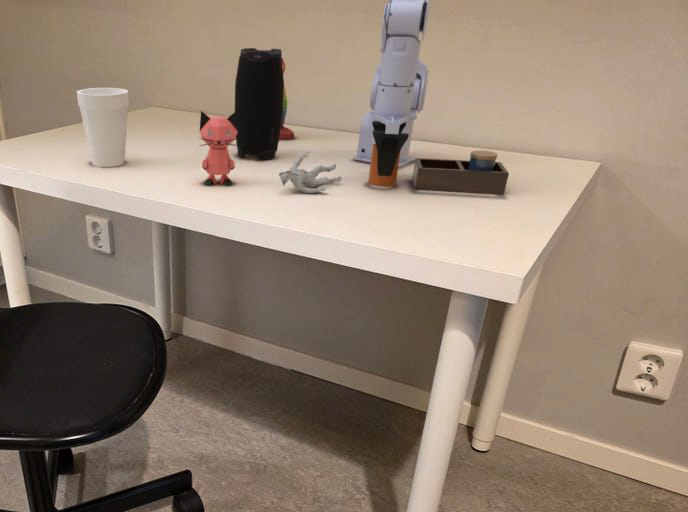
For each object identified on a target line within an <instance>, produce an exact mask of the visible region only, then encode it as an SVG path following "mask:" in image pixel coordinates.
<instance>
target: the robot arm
mask: <svg viewBox="0 0 688 512" xmlns="http://www.w3.org/2000/svg"><path fill="white" fill-rule="evenodd" d="M429 11H430V0H389V2H386V3H385V5H384V9H383V14H382V22H381V43H380V45H381V46H380V53H381V57H380V62H379V64H378V65H377V66H376V67H375V69H374V74H373V75H374V76H373V79H372V84H371V88H370V89H371V90H370V97H369V108H370V110H371V111H368V112H366V114H365V115H364V116H363V118H362V120H361V123H360V127H359V136H358V142H357V143H358V144H357V151H356V156H355V157H354V160H355V161H359V162H364V163H370V164H371V157H372V150H373V145H374V144H376V148H377V170H378V176H391V174H392V172H393V170H394V167H395V164H396V161H397V158H398V155H399V153H400V150H401V153H400V159H399V166H401V165H404V164H407V163H409V162H411V161H415V158H416V157H414V156H413V157H412V156H409V155H410V148H411V142H412V136H413V130H414V123H415V120H417V119H418V114H421V112H423V110H424V104H425V99H426V93H427V89H428V87H427V86H428V80H429V79H428V78H429V77H428V76H429V70H428V67H427V65H426V63H424V62H423V61H422V60H421V59H420V51H421V45H422V43H421V42H423V40H424V38H425V35H426V31H427V24H428V19H429V13H430V12H429ZM420 33H421V34H422V35H421V40H420Z"/></svg>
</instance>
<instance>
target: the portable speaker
mask: <svg viewBox="0 0 688 512" xmlns="http://www.w3.org/2000/svg"><path fill="white" fill-rule="evenodd" d="M282 54H283V53H282V49H281V48H271V49H269V50H267V49H265V50H263V49H257V48H255V47H245V48H242V49H240V54H239V56H238V63H237V70H236V75H235V76H236V77H235V81H234V82H235V83H234V112H235V111H237V126H238V133H237V135H236V137H235V140H236V141H235V142H236V145H239V146H236V148H237V157H238V158H240V159H245V157H246V156H251V157H256V158H257V160H259V161H267V160H268V161H269V160H273V159H275V156H276V154H277V152H278V147H279V143H280V142H279V141H280V139H279V136H280V130H281V123H282V115H283V95H284V87H285V80H284V79H285V78H284V73H283V68H282V59H281V57H282V56H283V55H282ZM236 138H238V139H236Z"/></svg>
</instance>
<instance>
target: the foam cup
mask: <svg viewBox="0 0 688 512" xmlns="http://www.w3.org/2000/svg"><path fill="white" fill-rule="evenodd" d="M129 95H130V94H129V91H128V89H125V88H118V87H91V88H83V89H79V90H77V91H76V97H77V106H78V108H79V111H80V116H81V120H82V124H83V130H84V133H85V139H86V143H87V148H88V153H89V157H90V161H91V165H92V166H94V167H99V168H113V167H114V168H115V167H119V166H122V165H124V164H125V159H126V146H127V145H126V143H127V129H128V128H127V127H128V114H129V113H128V112H129V105H130V98H129V97H130V96H129Z"/></svg>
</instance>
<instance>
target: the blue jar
mask: <svg viewBox="0 0 688 512" xmlns="http://www.w3.org/2000/svg"><path fill="white" fill-rule="evenodd" d="M498 156H499V154H498V153H497V152H494V151H490V150H472V151H470V154H469V160H468V161H469V166H468V170H477V171H493V170H494V166H495V162H497V159H498Z"/></svg>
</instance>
